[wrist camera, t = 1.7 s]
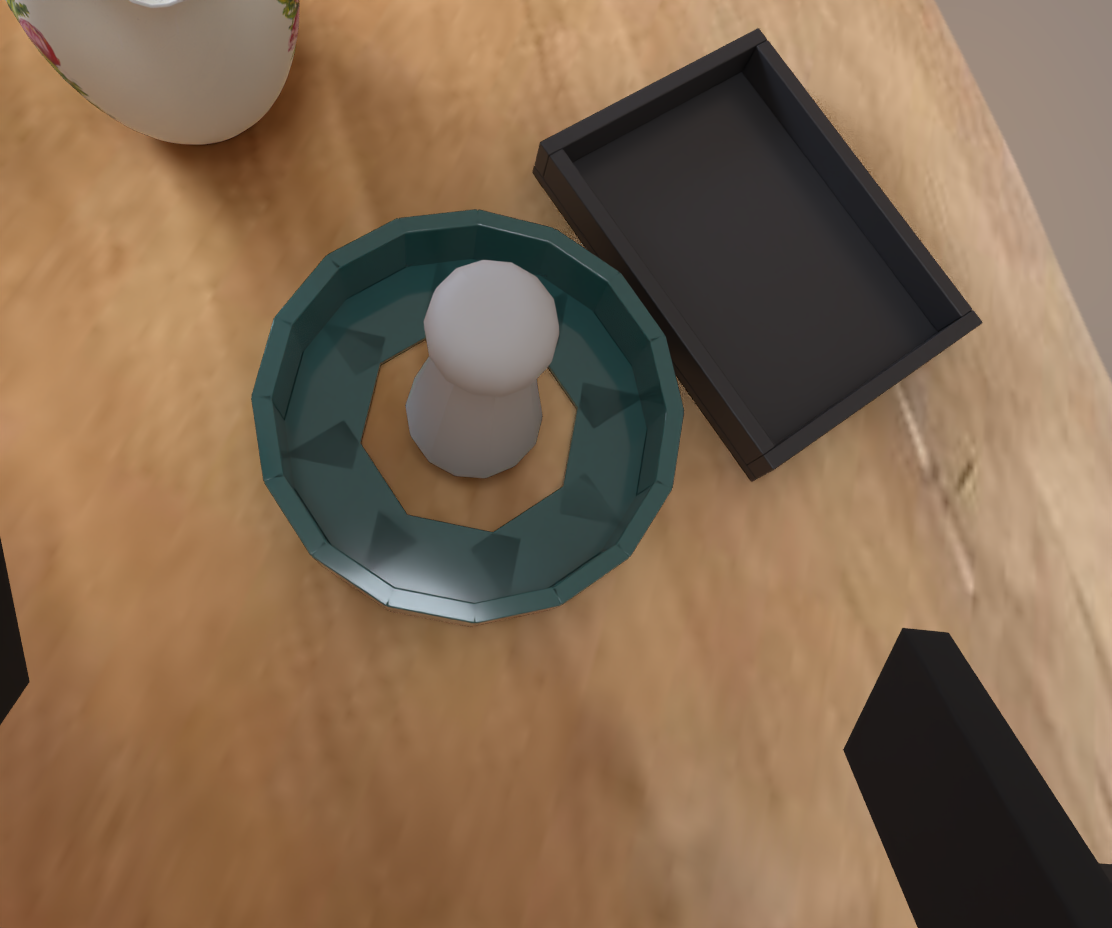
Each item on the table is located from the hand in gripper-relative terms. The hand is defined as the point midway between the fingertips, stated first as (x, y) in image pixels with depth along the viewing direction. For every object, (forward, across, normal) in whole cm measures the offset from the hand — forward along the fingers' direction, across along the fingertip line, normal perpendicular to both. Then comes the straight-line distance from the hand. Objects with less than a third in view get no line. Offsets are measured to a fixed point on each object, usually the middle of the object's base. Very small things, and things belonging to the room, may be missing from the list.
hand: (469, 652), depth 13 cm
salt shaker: (+25, 0, -9) cm, 26 cm away
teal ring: (+24, 0, -9) cm, 26 cm away
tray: (+32, +13, -2) cm, 34 cm away
